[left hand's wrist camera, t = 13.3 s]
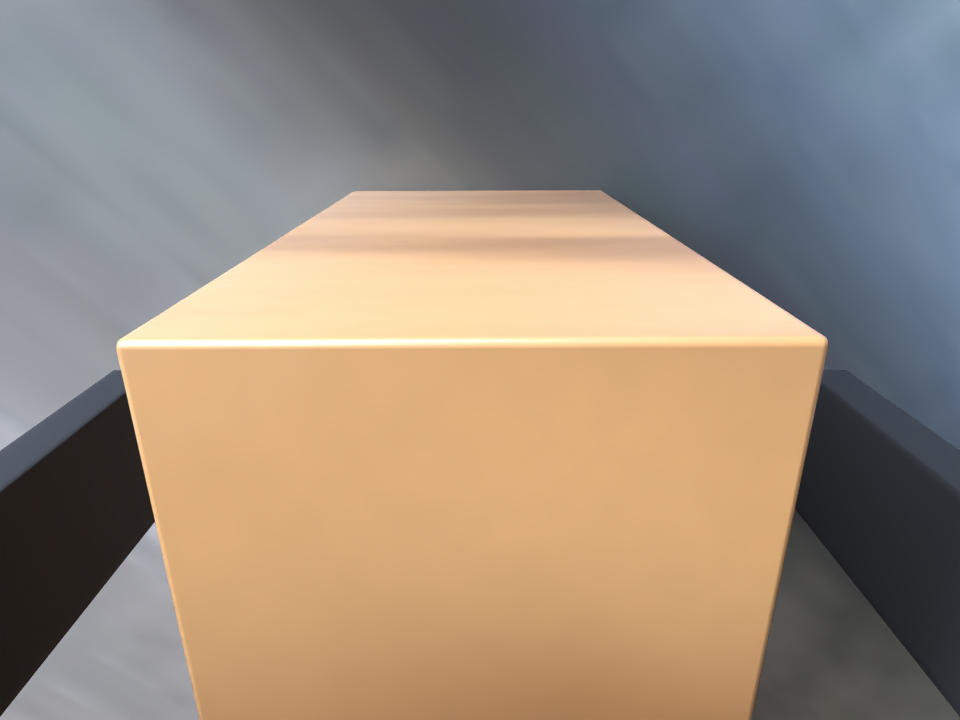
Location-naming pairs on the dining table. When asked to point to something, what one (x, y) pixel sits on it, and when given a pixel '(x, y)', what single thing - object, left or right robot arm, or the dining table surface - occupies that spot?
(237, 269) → the long box
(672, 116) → the dining table surface
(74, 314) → the dining table surface
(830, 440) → the left robot arm
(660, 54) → the dining table surface
